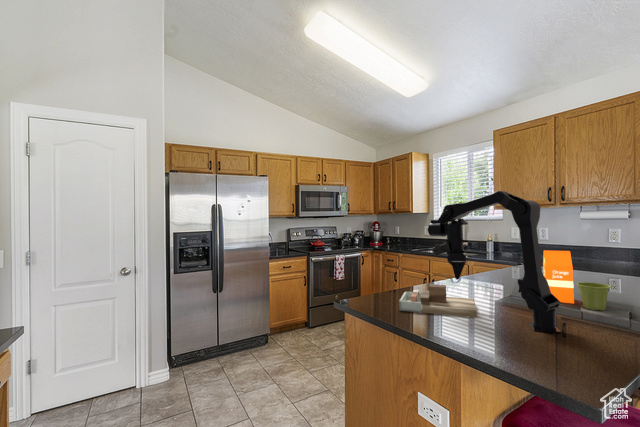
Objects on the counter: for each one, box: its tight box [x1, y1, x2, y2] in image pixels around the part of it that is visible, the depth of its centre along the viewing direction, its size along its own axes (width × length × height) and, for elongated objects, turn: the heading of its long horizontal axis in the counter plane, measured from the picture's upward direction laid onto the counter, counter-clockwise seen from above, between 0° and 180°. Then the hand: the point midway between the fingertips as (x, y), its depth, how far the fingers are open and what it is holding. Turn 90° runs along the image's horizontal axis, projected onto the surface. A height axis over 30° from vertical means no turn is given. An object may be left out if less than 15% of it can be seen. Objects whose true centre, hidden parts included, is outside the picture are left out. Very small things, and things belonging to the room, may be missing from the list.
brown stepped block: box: [420, 283, 447, 305], centre depth 118 cm, size 13×9×6 cm
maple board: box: [421, 296, 478, 318], centre depth 116 cm, size 16×18×2 cm
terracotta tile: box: [411, 294, 418, 302], centre depth 117 cm, size 4×4×2 cm
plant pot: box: [576, 282, 612, 312], centre depth 112 cm, size 9×9×9 cm
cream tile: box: [412, 289, 420, 302], centre depth 124 cm, size 4×4×2 cm
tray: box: [398, 291, 422, 313], centre depth 121 cm, size 16×8×4 cm, turn 157°
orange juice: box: [542, 250, 575, 304], centre depth 124 cm, size 8×9×20 cm
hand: (456, 277), depth 117 cm, fingers open, 9 cm apart
